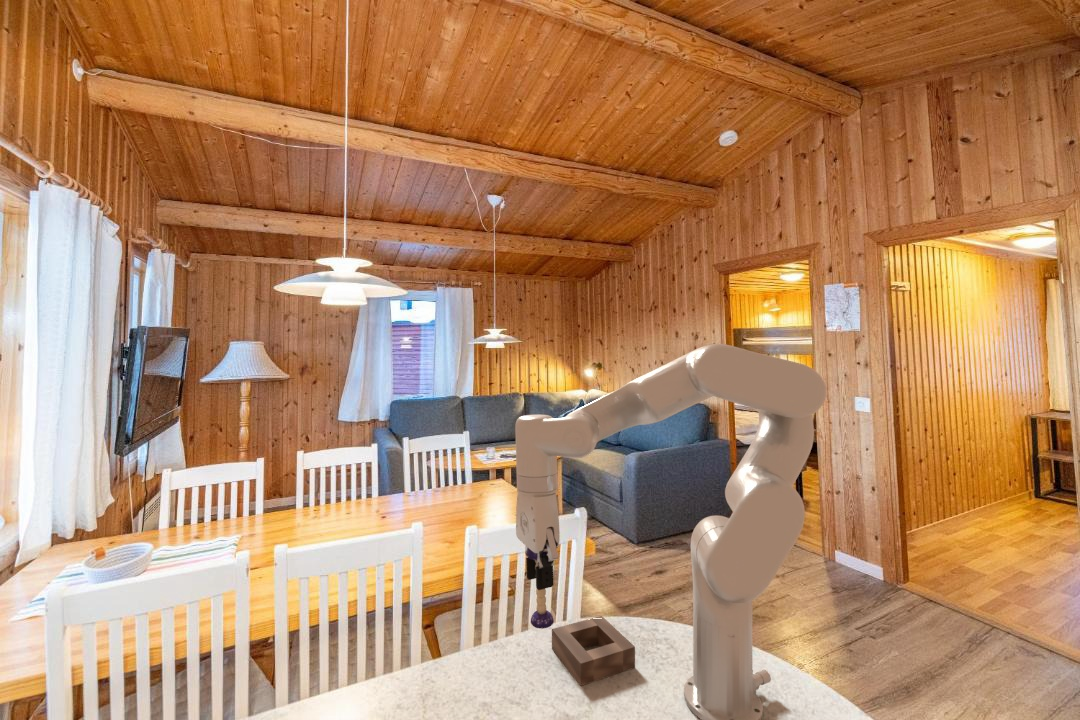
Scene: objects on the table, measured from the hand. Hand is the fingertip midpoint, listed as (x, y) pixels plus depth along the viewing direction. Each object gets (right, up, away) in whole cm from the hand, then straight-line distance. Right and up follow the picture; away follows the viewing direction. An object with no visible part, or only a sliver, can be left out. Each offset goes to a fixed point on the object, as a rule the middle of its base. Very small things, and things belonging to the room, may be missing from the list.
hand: (539, 581), depth 85 cm
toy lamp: (0, -8, 0) cm, 8 cm away
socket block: (+10, -19, +7) cm, 23 cm away
